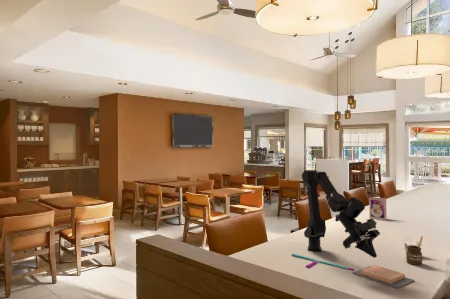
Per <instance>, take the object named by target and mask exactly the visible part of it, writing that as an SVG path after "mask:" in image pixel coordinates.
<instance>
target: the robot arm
mask: <svg viewBox="0 0 450 299" xmlns="http://www.w3.org/2000/svg"><path fill="white" fill-rule="evenodd" d="M301 178H302V183H303V185H304V186H305V187H306V191H307V192H306V193H307V198H308V199H307V201H308V209H309V218H308V220H307V227H306V228H305V230H304V232H303V235H304V238H307V239H308V246H307V251H311V252H322V246H321V238H325V235H326V230H327V226H326V220H325V219H323V218H322V216H321V209H320V201H319V193H318V187H319V186H320V187H321V188H322V191H323V192H324V194H325V195H326V197H327V204H328V206H329V208H330V210H331V211H332V212H333V213H338V214H336V215H335V220H334V221H335V222H336V223H337V222H339V221H340V223H341V224H342V226H343V228H344V229H345V230H344V232H345V233H348V234H349V235H348V236H347V237H346V238H345V239H343V241H342V246H343V247H344V248H345V249H346V250H347V249H350V248H351V245H352V244H354V243H355V244H356V245H355V246H354V248H355V249H358V250H360V251H362V252H364V253H365V254H367V255H369V256H370V257H371V258H375V259H376V257H377V256H378V255H377V252H376V250H375V247H374V244H373V241H374V240H375V239H376V238H377V237H378V236H380V235H381V232H380V231H379V230H378V229H377V221H375V219H372V218H368V219H366V221H365V222H362V221H357V218H358V217H359V216H360V215H361V214H362V213H363V211H364V210H365V209H366V207H365V203H363V201H361V200H359V199H357V198H356V196H355V197H350V199H349V200H348V199H346V197H345V196H344V195H342V194H341V193H339V192H338V191H337V189H336V187H335V186H334V184H333V183H332V181H331V180H330V179H329V177H328V175H327V173H326V172H325V171H317V170H316V169H312V170H311V169H309V170H304V171H303V172H302V173H301Z"/></svg>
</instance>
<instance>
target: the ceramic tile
mask: <svg viewBox="0 0 450 299" xmlns="http://www.w3.org/2000/svg"><path fill="white" fill-rule="evenodd" d="M367 267H368V268H366V267H364V268H365V269H363V268H362V269H363V270H361V269H360V270H361V274H363V275H366V276H369V277H372V278H374V279H377V280H380V281H383V282H386V283H389V284H392V283H394V282H396V281H399V280H401V279H403V278H405V277H406V274H405V273H404V272H400V271H397V270H394V269H389V268H387V267H383V266H380V265H376V264H374V265H371V266H370V267H369V266H367Z"/></svg>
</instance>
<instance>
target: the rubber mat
mask: <svg viewBox="0 0 450 299" xmlns="http://www.w3.org/2000/svg"><path fill="white" fill-rule="evenodd" d="M368 267H371V266H370V265H369V266H366V267H363V268H361V269H358V270H356V271H355V270H354V271H353V272H352V274H353V275H356V276H359V277H361V278H364V279H368V280H370V281H373V282H376V283H379V284H382V285H385V286H387V287H391V288H394V289H397V290H398V289H401V288H403V287H405V286H407V285H408V284H411V283H413V282H415V279H413V278H409V277H406V276H405V278H403V279H401V280H399V281H396V282H394V283H392V284H389V283H386V282H383V281H380V280H377V279H374V278H372V277H369V276H366V275H363V274H361V270H363V269H365V268H368Z"/></svg>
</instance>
